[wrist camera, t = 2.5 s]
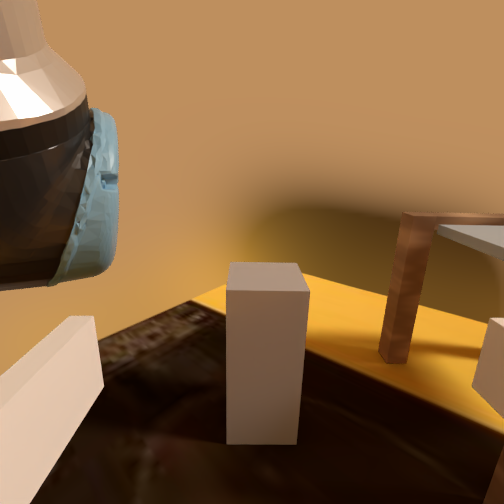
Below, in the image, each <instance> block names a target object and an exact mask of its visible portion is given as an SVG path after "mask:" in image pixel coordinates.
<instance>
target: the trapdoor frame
mask: <svg viewBox="0 0 504 504" xmlns="http://www.w3.org/2000/svg"><path fill="white" fill-rule="evenodd" d="M439 225H491V226H504V214H485V213H484V214H483V213H434V212H431V213H430V212H402V217H401V223H400V229H399V235H398V240H397V246H396V252H395V258H394V263H393V269H392V275H391V281H390V286H389V292H388V298H387V304H386V309H385V315H384V321H383V327H382V332H381V338H380V344H379V350H378V352H379V353H380V354H381V356H382V357H383V359H384V360H385V362H386V363H405V364H406V362H407V357H408V352H409V347H410V342H411V338H412V333H413V328H414V323H415V319H416V314H417V309H418V304H419V299H420V295H421V290H422V285H423V280H424V275H425V271H426V266H427V261H428V256H429V251H430V247H431V242H432V237H433V232H434V230H438V227H439ZM483 504H504V446H503V449H502V451H501V454H500V457H499V460H498V463H497V465H496V468H495V471H494V474H493V476H492V479H491V482H490V485H489V488H488V490H487V493H486V496H485V499H484V502H483Z"/></svg>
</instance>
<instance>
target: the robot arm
mask: <svg viewBox="0 0 504 504" xmlns="http://www.w3.org/2000/svg"><path fill="white" fill-rule="evenodd" d="M118 167H119V155H118V139H117V129H116V125H115V121H114V119H113V117H112V116H111V115H110V114H108V113H105V112H101V111H100V110H99V109H98V108H90V110H89V108H88V102H87V95H86V88H85V83H84V81H83V79H82V77H81V76H80V75H79V73H77V72H76V71H75V70H74V69H73V68H72V67H71V66H70V65H69V64H68V63H67V62H66V61H65V60H63V59H62V58H61V57H60V56H59V55H58V54H57V53H56V52H55V51H53V50H52V49H51V48H50V47H49V45H48V43H47V41H46V39H45V37H44V32H43V27H42V23H41V18H40V14H39V9H38V4H37V0H0V291H5V290H14V289H24V288H33V287H42V286H47V287H50V286H54V285H57V284H58V283H60V282H66V281H72V280H77V279H83V278H88V277H94V276H97V275H99V274H101V273H102V272H104V271H105V270H107V268H108V267H109V266H110V265H111V263H112V261H113V259H114V256H115V251H116V244H117V233H118V214H119V213H118V212H119V191H118V186H117V183H118ZM103 387H104V382H103V376H102V369H101V362H100V356H99V349H98V342H97V336H96V329H95V322H94V316H69V317H68V318H67V319H66V320H64V321H63V322H62V323H61V324H60V325H59V326H58V327H56V328H55V329H54V330H53V331H52V332H51V333H49V334H48V335H47V336H46V337H45V338H44V339H43V340H41V341H40V342H39V343H38V344H37V345H36V346H35V347H33V348H32V349H31V350H30V351H29V352H28V353H26V354H25V355H24V356H23V357H22V358H21V359H20V360H18V362H16V363H15V364H14V365H13V366H12V367H10V368H9V369H8V370H7V371H6V372H5V373H4V374H2V375H1V376H0V504H30V502H31V501H32V499H33V497H34V496H35V494H36V493H37V491H38V490H39V488H40V486H41V485H42V483H43V482H44V480H45V479H46V477H47V475H48V474H49V472H50V471H51V469H52V468H53V466H54V464H55V463H56V461H57V460H58V458H59V457H60V455H61V453H62V452H63V450H64V449H65V447H66V445H67V444H68V442H69V441H70V439H71V438H72V436H73V434H74V433H75V431H76V430H77V428H78V427H79V425H80V423H81V422H82V420H83V419H84V417H85V416H86V414H87V412H88V411H89V409H90V408H91V406H92V405H93V403H94V401H95V400H96V398H97V397H98V395H99V394H100V392H101V390H102V389H103ZM472 387H473V388H474V389H475V390H476V391H477V392H478V393H479V394H480V395H481V396H482V397H483V398H484V399H485V400H486V401H487V402H488V403H489V404H490V405H491V406H492V407H493V408H494V409H495V410H496V411H497V412H498V413H499V414H500V415H501V416H502V417H503V418H504V318H490V319H489V323H488V327H487V331H486V334H485V338H484V342H483V346H482V349H481V353H480V357H479V361H478V364H477V368H476V372H475V376H474V379H473V383H472Z"/></svg>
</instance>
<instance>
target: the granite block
mask: <svg viewBox="0 0 504 504" xmlns="http://www.w3.org/2000/svg"><path fill="white" fill-rule="evenodd" d="M309 298H310V290H309V288H308V286H307V284H306V282H305V279H304V277H303V275H302V273H301V271H300V269H299V267H298V265H297V263H260V262H230V268H229V275H228V281H227V288H226V418H227V444H279V445H297V434H298V422H299V411H300V400H301V388H302V377H303V366H304V354H305V343H306V332H307V320H308V309H309Z"/></svg>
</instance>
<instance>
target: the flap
mask: <svg viewBox="0 0 504 504" xmlns="http://www.w3.org/2000/svg"><path fill="white" fill-rule="evenodd" d="M437 234H439V235H441V236H444V237H446V238H449V239H451V240H454V241H456V242H459V243H461V244H464V245H466V246H469V247H471V248H473V249H476V250H478V251H481V252H483V253H486V254H488V255H491V256H493V257H495V258H498V259H500V260H503V261H504V226H491V225H439V227H438V231H437Z"/></svg>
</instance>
